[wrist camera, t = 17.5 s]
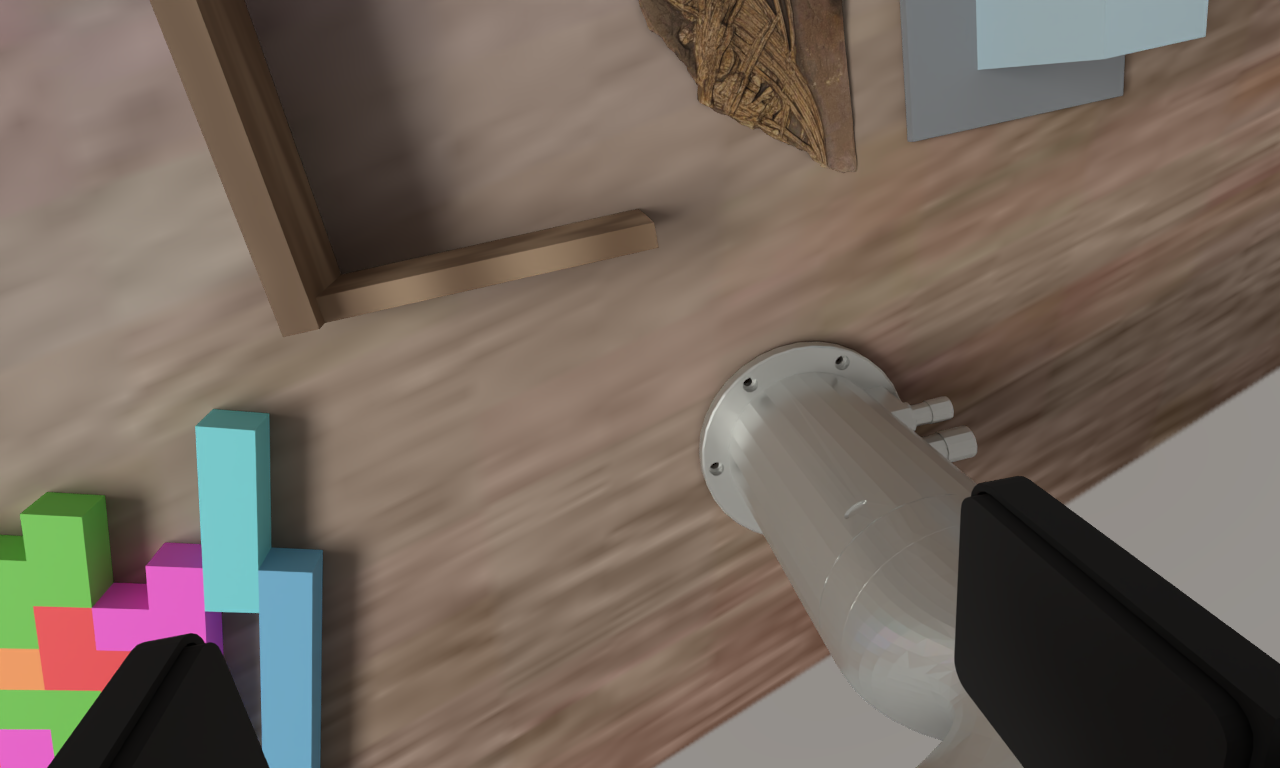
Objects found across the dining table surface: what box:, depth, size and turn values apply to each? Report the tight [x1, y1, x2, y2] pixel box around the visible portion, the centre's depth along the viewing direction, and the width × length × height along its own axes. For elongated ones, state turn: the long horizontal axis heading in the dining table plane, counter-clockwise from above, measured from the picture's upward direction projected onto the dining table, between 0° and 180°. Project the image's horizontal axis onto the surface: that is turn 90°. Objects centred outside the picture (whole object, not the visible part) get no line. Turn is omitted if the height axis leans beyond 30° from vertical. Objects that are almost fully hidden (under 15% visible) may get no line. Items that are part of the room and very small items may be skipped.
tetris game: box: [0, 409, 323, 768], centre depth 42 cm, size 28×3×28 cm
